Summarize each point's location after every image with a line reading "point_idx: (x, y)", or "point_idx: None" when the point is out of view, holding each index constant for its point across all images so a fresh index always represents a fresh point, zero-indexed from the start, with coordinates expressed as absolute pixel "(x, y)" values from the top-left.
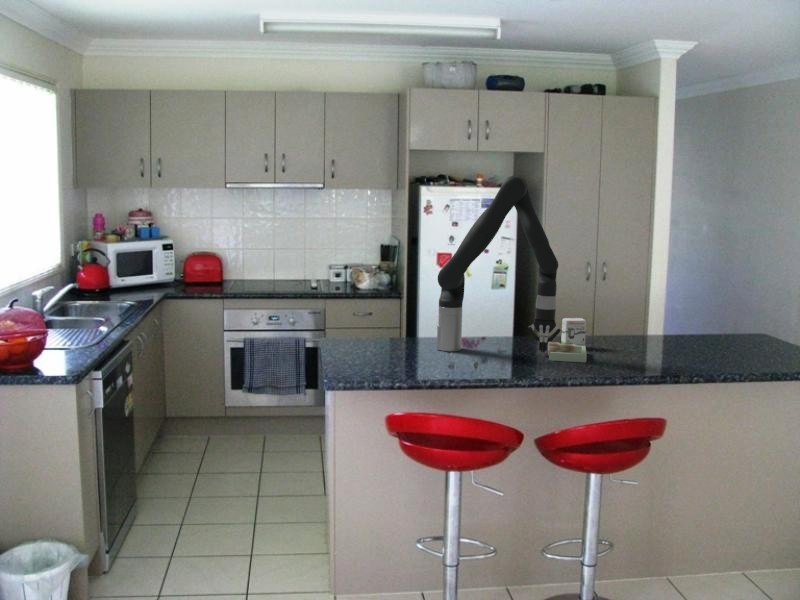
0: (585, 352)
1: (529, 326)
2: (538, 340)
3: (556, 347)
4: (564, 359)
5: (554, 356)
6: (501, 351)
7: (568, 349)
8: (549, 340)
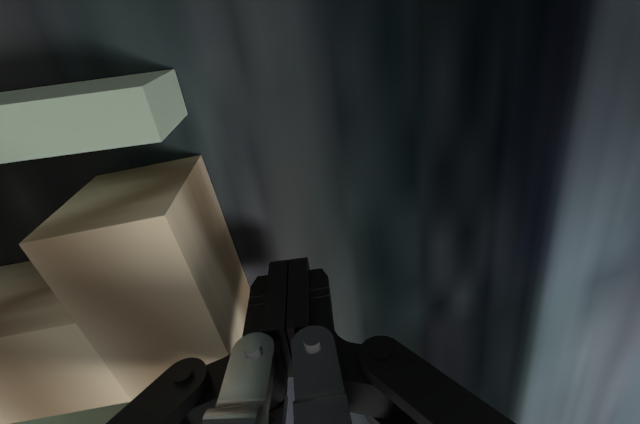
0: None
1: None
2: (351, 346)
3: (76, 232)
4: None
5: (97, 84)
6: (628, 267)
7: (3, 311)
8: (199, 364)
